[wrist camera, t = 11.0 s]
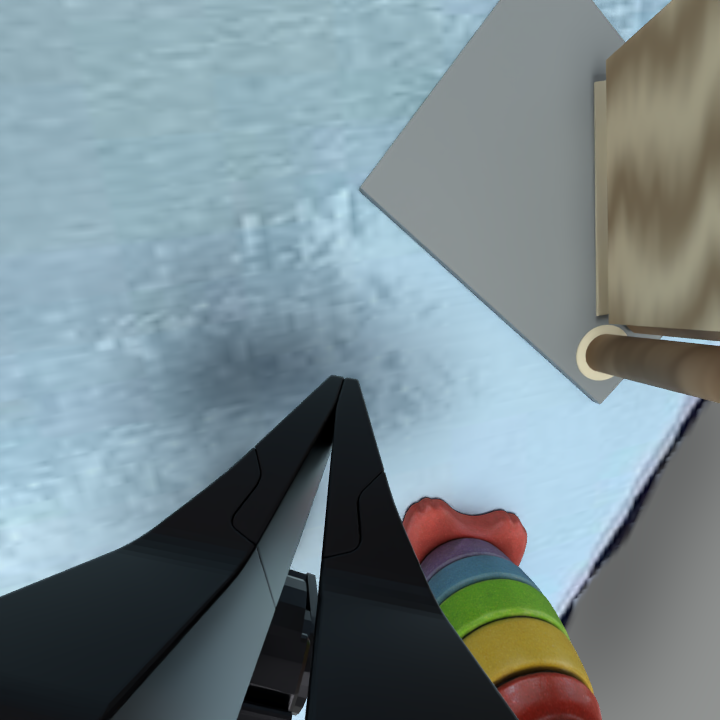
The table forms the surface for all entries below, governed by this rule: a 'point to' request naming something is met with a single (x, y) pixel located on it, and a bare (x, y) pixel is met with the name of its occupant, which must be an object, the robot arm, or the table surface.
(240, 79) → the table surface
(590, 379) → the board
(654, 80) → the folding fence panel
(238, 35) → the table surface
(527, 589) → the stacking bear
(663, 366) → the fixed fence panel
